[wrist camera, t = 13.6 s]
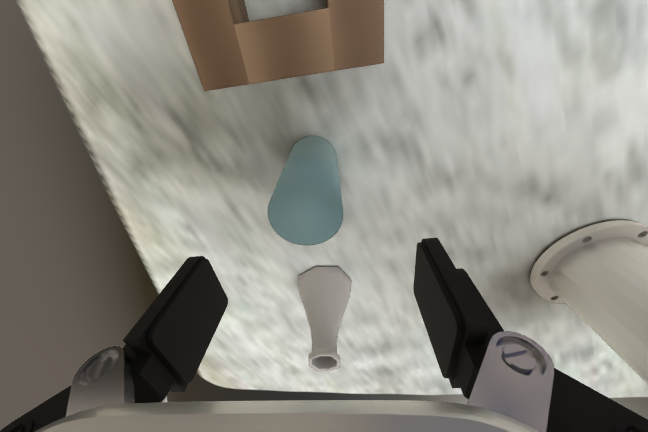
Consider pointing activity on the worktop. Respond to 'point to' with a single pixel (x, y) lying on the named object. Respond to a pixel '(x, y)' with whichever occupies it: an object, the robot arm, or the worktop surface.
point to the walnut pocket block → (279, 40)
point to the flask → (324, 312)
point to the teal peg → (308, 194)
